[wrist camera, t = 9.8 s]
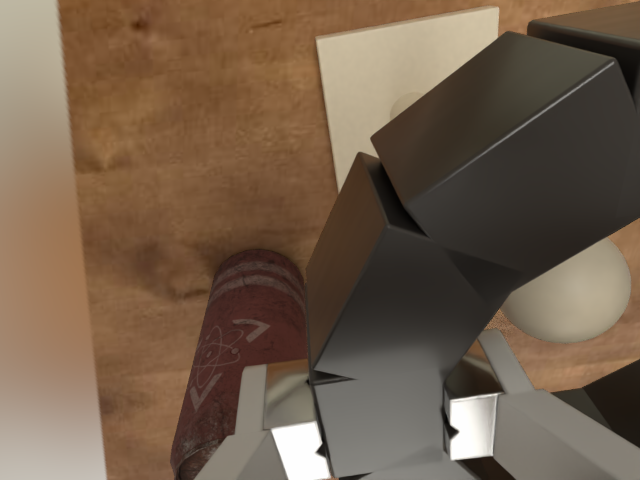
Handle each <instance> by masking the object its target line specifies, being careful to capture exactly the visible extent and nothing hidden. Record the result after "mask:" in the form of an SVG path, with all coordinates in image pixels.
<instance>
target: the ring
mask: <svg viewBox="0 0 640 480" xmlns="http://www.w3.org/2000/svg"><path fill="white" fill-rule="evenodd" d="M370 140H371V142H372V145H373V147H374V149H375V151H376V153H377V155H378V157H379V158H377V157H374V156H372V155H369V154H366V153H363V152H358V153H357V155H356V157H355V159H354V161H353V164H352V166H351V168H350V170H349V173H348V175H347V177H346V179H345V182H344V184H343V186H342V188H341V191H340V193H339V195H338V197H337V200H336V202H335V204H334V206H333V209H332V211H331V213H330V215H329V218H328V220H327V222H326V224H325V227H324V229H323V231H322V233H321V236H320V238H319V240H318V242H317V245H316V247H315V249H314V251H313V253H312V256H311V258H310V260H309V262H308V265H307V267H306V281H307V282H306V283H305V285H304V289H305V309H306V330H307V350H308V370H309V384H310V388H311V393H312V397H313V401H314V402H315V404H316V408H317V412H318V415H319V419H320V423H321V430H322V437H323V439H324V441H325V444H326V448H327V452H328V456H329V461H330V470H331V474H332V476H333V477H334V478H339V480H516V479H515V478H514V477H513V476H512V475H511V474H510V473H509V472H508V471H507V470H506V469H504V468H503V467H502V466H501V465H500V464H499V463H498V462H497V461H496V460H495V459H494V458H493V456H486V457H478V458H469V459H461V460H452V461H450V458H449V455H448V452H447V449H446V446H445V440H444V422H445V418H446V412H445V410H444V384H445V381H446V379H447V378H448V377H449V375H450V374H451V373H452V371H453V370H454V369H455V367H456V366H457V365H458V363H459V362H460V361H461V359H462V358H463V357H464V355H465V354H466V353H467V351H468V350H469V349H470V347H471V346H472V344H473V343H474V342H475V340H476V339H477V338H478V336H479V335H480V334H481V332H482V331H483V330H484V328H485V327H486V326H487V324H488V323H489V322H490V320H491V319H492V318H493V316H494V315H495V314H496V312H497V311H498V310H499V308H500V307H501V306H502V304H503V303H504V302H505V300H506V299H507V298H508V296H509V295H510V294H511V293H512V292H513V291H515V290H517V289H518V288H520V287H522V286H524V285H525V284H527V283H529V282H530V281H532V280H534V279H536V278H537V277H539V276H541V275H542V274H544V273H546V272H547V271H549V270H551V269H553V268H554V267H556V266H558V265H559V264H561V263H563V262H565V261H566V260H568V259H570V258H571V257H573V256H575V255H577V254H578V253H580V252H582V251H583V250H585V249H587V248H589V247H590V246H592V245H594V244H595V243H597V242H599V241H601V240H602V239H604V238H606V237H607V236H609V235H611V234H613V233H614V232H616V231H618V230H619V229H621V228H623V227H625V226H626V225H628V224H630V223H631V222H633V221H635V220H637V219H638V218H640V1H638V2H633V3H627V4H621V5H615V6H610V7H604V8H598V9H593V10H587V11H581V12H575V13H570V14H564V15H558V16H552V17H547V18H541V19H535V20H532V21H531V22H529V23H528V26H527V35H524V34H520V33H516V32H512V31H507V32H505V33H504V34H502V35H501V36H500V37H499V38H497V39H496V40H495V41H493V42H492V43H491V44H490V45H488V46H487V47H486V48H484V49H483V50H482V51H480V52H479V53H478V54H477V55H475V56H474V57H473V58H471V59H470V60H469V61H468V62H466V63H465V64H464V65H462V66H461V67H460V68H458V69H457V70H456V71H455V72H453V73H452V74H451V75H449V76H448V77H447V78H446V79H444V80H443V81H442V82H440V83H439V84H438V85H436V86H435V87H434V88H433V89H431V90H430V91H429V92H427V93H426V94H425V95H424V96H422V97H421V98H420V99H418V100H417V101H416V102H414V103H413V104H412V105H411V106H409V107H408V108H407V109H405V110H404V111H403V112H402V113H400V114H399V115H398V116H396V117H395V118H394V119H392V120H391V121H390V122H389V123H387V124H386V125H385V126H383V127H382V128H381V129H380V130H378V131H377V132H376V133H374V134H373V135H372V136H371V137H370ZM551 394H552V395H554V396H556V397H557V398H559V399H560V400H562V401H564V402H565V403H567V404H569V405H570V406H572V407H573V408H575V409H577V410H578V411H580V412H582V413H583V414H585V415H586V416H588V417H590V418H591V419H593V420H595V421H596V422H598V423H599V424H601V425H603V426H604V427H606V428H608V429H609V430H611V431H612V432H614V433H616V434H617V435H619V436H621V437H622V438H624V439H625V440H627V441H629V442H630V443H632V444H634V445H635V446H637V447H638V448H640V359H639V360H637V361H635V362H633V363H631V364H629V365H627V366H625V367H623V368H621V369H619V370H617V371H615V372H612V373H610V374H608V375H606V376H604V377H602V378H600V379H598V380H596V381H594V382H592V383H590V384H588V385H586V386H584V387H582V388H578V389H571V390H564V391H558V392H551Z"/></svg>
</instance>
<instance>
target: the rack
mask: <svg viewBox="0 0 640 480" xmlns="http://www.w3.org/2000/svg"><path fill="white" fill-rule="evenodd" d="M498 22H499V7H497V6H491V5H488V6H483V7H477V8H471V9H466V10H460V11H455V12H449V13H444V14H438V15H433V16H427V17H422V18H416V19H410V20H405V21H399V22H394V23H388V24H383V25H377V26H372V27H366V28H360V29H355V30H349V31H344V32H338V33H333V34H327V35H322V36H316V37H315V41H316V48H317V55H318V61H319V68H320V75H321V81H322V88H323V95H324V102H325V108H326V115H327V122H328V128H329V135H330V142H331V148H332V155H333V162H334V168H335V175H336V182H337V189H338V195H339V193H340V191H341V188H342V186H343V184H344V182H345V179H346V177H347V175H348V173H349V170H350V168H351V166H352V164H353V161H354V159H355V157H356V155H357V153H358V152H363V153H366V154H369V155H372V156H374V157H377V158H379V157H378V155H377V153H376V151H375V149H374V147H373V145H372V142H371V140H370V137H371V136H372V135H373V134H374V133H376V132H377V131H378V130H380V129H381V128H382V127H383V126H385V125H386V124H387V123H389V122H390V121H391V120H392V119H394V118H395V117H396V116H398V115H399V114H400V113H402V112H403V111H404V110H405V109H407V108H408V107H409V106H411V105H412V104H413V103H414V102H416V101H417V100H418V99H420V98H421V97H422V96H424V95H425V94H426V93H427V92H429V91H430V90H431V89H433V88H434V87H435V86H436V85H438V84H439V83H440V82H442V81H443V80H444V79H446V78H447V77H448V76H449V75H451V74H452V73H453V72H455V71H456V70H457V69H458V68H460V67H461V66H462V65H464V64H465V63H466V62H468V61H469V60H470V59H471V58H473V57H474V56H475V55H477V54H478V53H479V52H480V51H482V50H483V49H484V48H486V47H487V46H488V45H490V44H491V43H492V42H493V41H495V40H496V39H497V38H498ZM630 293H631V277H630V272H629V268H628V265H627V263H626V260H625V258H624V256H623V255H622V253H621V252H620V250H619V249H618V247H617V246H616V245H615V244H614V243H613V242H612V241H611V240H610V239H609V238H608V237H606V238H604V239H602V240H601V241H599V242H597V243H595V244H594V245H592V246H590V247H589V248H587V249H585V250H583V251H582V252H580V253H578V254H577V255H575V256H573V257H571V258H570V259H568V260H566V261H565V262H563V263H561V264H559V265H558V266H556V267H554V268H553V269H551V270H549V271H547V272H546V273H544V274H542V275H541V276H539V277H537V278H536V279H534V280H532V281H530V282H529V283H527V284H525V285H524V286H522V287H520V288H518V289H517V290H515V291H513V292H512V293H511V294H510V295H509V296H508V298H507V299H506V300H505V302H504V303H503V304H502V306H501V307H500V309H501V311H502V312H503V314H504V315H505V316H506V317H507V319H508V320H509V321H510V322H511V323H512V324H514V325H515V326H516V327H517V328H519V329H520V330H522V331H523V332H525V333H526V334H528V335H530V336H533V337H535V338H537V339H540V340H544V341H548V342H554V343H575V342H581V341H585V340H589V339H591V338H594V337H596V336H598V335H600V334H602V333H604V332H605V331H606V330H608V329H609V328H610V327H612V326H613V325H614V324H615V323H616V322H617V321H618V319H619V318H620V317H621V315H622V314H623V312H624V311H625V309H626V307H627V304H628V301H629V298H630Z"/></svg>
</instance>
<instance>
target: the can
mask: <svg viewBox="0 0 640 480" xmlns="http://www.w3.org/2000/svg"><path fill="white" fill-rule="evenodd" d="M305 358H308V356H307V335H306V314H305V293H304V282H303V277H302V275H301V273H300V272H299V270H298V268H297V267H296V266H295V265H294V264H293V263H292V262H291V261H290V260H289V259H288V258H286V257H283V256H281V255H279V254H277V253H275V252H273V251H267V250H261V249H259V250H249V251H244V252H241V253H239V254H236V255H234V256H231V257H230V258H229V259H228V260H226V261H225V262H224V263H223V264H221V266H220V267H219V269H218V271H217V272H216V274H215V276H214V280H213V284H212V288H211V292H210V296H209V300H208V304H207V308H206V313H205V317H204V321H203V325H202V329H201V333H200V337H199V341H198V345H197V349H196V353H195V357H194V361H193V365H192V369H191V373H190V377H189V381H188V385H187V389H186V393H185V397H184V401H183V405H182V409H181V413H180V417H179V421H178V425H177V429H176V433H175V437H174V441H173V445H172V451H171V460H170V463H171V466H172V469H173V472H174V475H175V478H174V480H194V479H195V477H196V476H197V475H198V473H199V472H200V471H201V470H202V468H203V467H204V466H205V464H206V463H207V462H208V460H209V459H210V458H211V457H212V455H213V454H214V453H215V451H216V450H217V449H218V447H219V446H220V445H221V443H222V442H223V441H224V440H225V438H226V437H227V436H230V435H234V434H235V426H236V418H237V410H238V402H239V394H240V386H241V378H242V372H243V370H244V368H245V367H246V366H254V365H262V364H268V363H274V362H281V361H289V360H297V359H305Z"/></svg>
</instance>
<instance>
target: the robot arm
mask: <svg viewBox="0 0 640 480" xmlns="http://www.w3.org/2000/svg"><path fill="white" fill-rule="evenodd" d="M444 410H445V412H446V418H445V422H444V440H445V446H446V449H447V452H448V455H449V458H450V461H452V460H461V459H469V458H478V457H486V456H493V458H494V459H495V460H496V461H497V462H498V463H499V464H500V465H501V466H502V467H503V468H504V469H506V470H507V471H508V472H509V473H510V474H511V475H512V476H513V477H514V478H515V479H516V480H640V448H638V447H637V446H635V445H634V444H632V443H630V442H629V441H627V440H625V439H624V438H622V437H621V436H619V435H617V434H616V433H614V432H612V431H611V430H609V429H608V428H606V427H604V426H603V425H601V424H599V423H598V422H596V421H595V420H593V419H591V418H590V417H588V416H586V415H585V414H583V413H582V412H580V411H578V410H577V409H575V408H573V407H572V406H570V405H569V404H567V403H565V402H564V401H562V400H560V399H559V398H557V397H556V396H554V395H552V394H551V393H549V392H547V391H546V390H544V389H538V390H535V388H534V386H533V385H532V383H531V381H530V380H529V378H528V376H527V375H526V373H525V371H524V370H523V368H522V366H521V365H520V363H519V361H518V360H517V358H516V356H515V355H514V353H513V351H512V349H511V348H510V346H509V344H508V343H507V341H506V339H505V338H504V336H503V334H502V333H501V331H500V330H498V329H497V328H493V329H487V330H483V331H482V332H481V334H480V335H479V336H478V338H477V339H476V340H475V342H474V343H473V344H472V346H471V347H470V349H469V350H468V351H467V353H466V354H465V355H464V357H463V358H462V359H461V361H460V362H459V363H458V365H457V366H456V367H455V369H454V370H453V371H452V373H451V374H450V375H449V377H448V378H447V379H446V381H445V384H444ZM328 478H331V474H330V461H329V456H328V452H327V448H326V444H325V441H324V439H323V437H322V430H321V423H320V419H319V415H318V412H317V408H316V404H315V402H314V401H313V397H312V393H311V388H310V384H309V370H308V358H305V359H297V360H289V361H281V362H274V363H268V364H262V365H254V366H246V367H245V368H244V370H243V372H242V378H241V386H240V394H239V402H238V410H237V418H236V426H235V434H234V435H230V436H227V437H226V438H225V440H224V441H223V442H222V443H221V445H220V446H219V447H218V449H217V450H216V451H215V453H214V454H213V455H212V457H211V458H210V459H209V460H208V462H207V463H206V464H205V466H204V467H203V468H202V470H201V471H200V472H199V473H198V475H197V476H196V477H195V479H194V480H322V479H328Z"/></svg>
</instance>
